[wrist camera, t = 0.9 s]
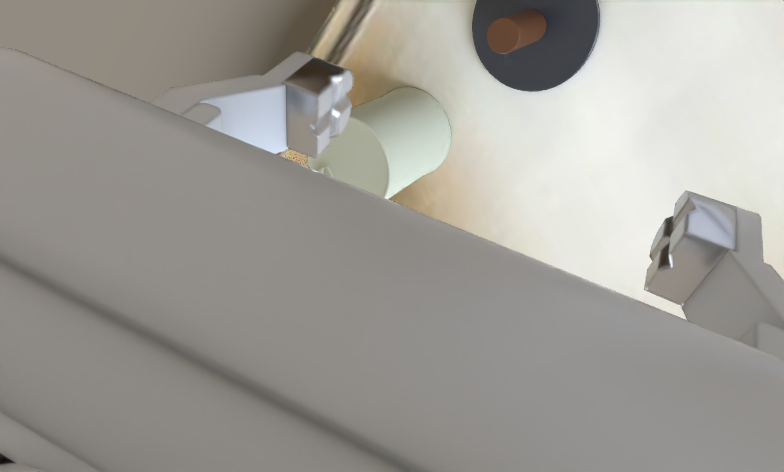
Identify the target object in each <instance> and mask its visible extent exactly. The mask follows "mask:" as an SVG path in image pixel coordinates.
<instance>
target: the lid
mask: <svg viewBox="0 0 784 472" xmlns="http://www.w3.org/2000/svg"><path fill="white" fill-rule="evenodd" d="M599 25H600V11H599V4H598V0H477V2H476V5H475V9H474V14H473V23H472V31H473V39H474V45H475V48H476V51H477V54H478V56H479V58H480V60H481V62H482V63H483V65H484V67H485V68H486V69H487V70H488V72H489V73H490V74H491V75H492V76H493V77H494V78H496V79H497V80H498V81H500V82H501V83H503V84H505V85H507V86H509V87H511V88H514V89H517V90H521V91H542V90H547V89H550V88H553V87H555V86H558V85H560V84H562V83H563V82H565V81H566V80H568V79H570V78H571V77H572V76H573V75H574V74H576V73H577V72H578V71H579V70H580V69H581V67H582V66H583V65H584V64H585V62H586V61H587V60H588V58H589V56H590V54H591V53H592V51H593V48H594V46H595V43H596V40H597V37H598V33H599Z"/></svg>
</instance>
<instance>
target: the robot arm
mask: <svg viewBox="0 0 784 472" xmlns="http://www.w3.org/2000/svg"><path fill="white" fill-rule="evenodd" d="M352 88H353V74H352V72H351V70H348V69H345V68H343V67H340V66H337V65H335V64H332V63H329V62H327V61H324V60H322V59H319V58H316V57H314V56H311V55H308V54H305V53H302V52H295V53H293V54H292V55H291V56H289V57H288V58H287V59H286V60H284V61H283V62H281V63H280V64H278V65H277V66H276V67H274V68H273V69H272V70H270V71H269V72H267V73H266V74H265V75H263V76H260V75H250V76H244V77H238V78H231V79H224V80H218V81H211V82H205V83H198V84H192V85H185V86H179V87H172V88H170V89H168V90H167V91H165V92H164V93H162V94H161V95H159V96H158V97H156V98H154V99H153V100H151V101H150V102H145V101H143V100H140V99H138V98H135V97H133V96H130V95H128V94H126V93H123V92H121V91H118V90H116V89H113V88H111V87H108V86H106V85H103V84H101V83H98V82H96V81H93V80H91V79H88V78H86V77H83V76H81V75H79V74H76V73H73V72H71V71H69V70H66V69H63V68H61V67H59V66H56V65H54V64H51V63H49V62H47V61H44V60H42V59H40V58H37V57H35V56H33V55H30V54H28V53H26V52H23V51H20V50H17V49H13V48H6V47H0V472H784V280H783V279H782V278H781V277H780V276H779V274H778V273H777V272H776V271H775V270H774V268H773V267H772V266H771V265H769V264H766V263H764V259H763V241H762V223H761V216H760V215H759V214H758V213H755V212H751V211H748V210H745V209H742V208H739V207H736V206H732V205H729V204H726V203H723V202H720V201H717V200H714V199H711V198H708V197H705V196H702V195H699V194H696V193H693V192H690V191H685V192H684V193H683V194H682V195H681V196H680V198H679V199H678V201H677V202H676V204H675V209H674V216H671V217H669V218H666V219H665V220H664V222H663V224H662V225H661V227H660V229H659V230H658V232H657V234H656V236H655V238H654V241H653V244H652V247H651V251H650V258H651V260H652V261H653V262H652V263H651V265H650V266H649V268H648V269H647V274H646V281H645V287H644V290H646V291H648V292H650V293H653V294H655V295H657V296H660V297H662V298H664V299H667V300H669V301H671V302H674V303H676V304H679V305H681V306H682V307H681V308H682V310H683V312H684V314H685V316H686V318H687V320H688V321H687V320H685V319H682V318H680V317H677V316H675V315H672V314H670V313H667V312H665V311H662V310H660V309H658V308H655V307H653V306H650V305H648V304H645V303H643V302H640V301H638V300H635V299H633V298H630V297H628V296H625V295H623V294H620V293H618V292H615V291H613V290H611V289H608V288H606V287H603V286H601V285H598V284H596V283H593V282H591V281H588V280H586V279H583V278H581V277H578V276H576V275H573V274H571V273H568V272H566V271H563V270H561V269H559V268H556V267H554V266H551V265H549V264H546V263H544V262H541V261H539V260H536V259H534V258H531V257H529V256H526V255H524V254H521V253H519V252H516V251H514V250H511V249H509V248H507V247H504V246H502V245H499V244H497V243H494V242H492V241H489V240H487V239H484V238H482V237H479V236H477V235H474V234H472V233H469V232H467V231H464V230H462V229H459V228H457V227H455V226H452V225H450V224H447V223H445V222H442V221H440V220H437V219H435V218H432V217H430V216H427V215H425V214H422V213H420V212H417V211H415V210H412V209H410V208H408V207H405V206H403V205H400V204H398V203H395V202H393V201H390V200H388V199H385V198H383V197H380V196H378V195H375V194H373V193H370V192H368V191H365V190H363V189H360V188H358V187H356V186H353V185H351V184H348V183H346V182H343V181H341V180H338V179H336V178H333V177H331V176H328V175H326V174H323V173H321V172H318V171H316V170H313V169H311V168H309V167H306V166H304V165H301V164H299V163H296V162H294V161H291V160H289V159H286V158H284V157H281V156H279V155H276V153H279V152H282V151H285V150H287V148H288V149H291V150H293V151H296V152H299V153H301V154H304V155H307V156H310V157H312V158H315V159H317V158H318V157H319V156H320V155H321V154H322V153H323V152H324V151H325V150H326V149H327V148H328V147H329V146H330V138H334V137H338V136H339V135H340V134H341V133H342V132H343V131H344V129H345V127H346V125H347V123H348V121H349V117H350V113H351V105H352V103H351V101H350V99H349V97H348V95H347V93H348V92H349V91H350V90H351V89H352Z"/></svg>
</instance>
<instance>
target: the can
mask: <svg viewBox="0 0 784 472" xmlns="http://www.w3.org/2000/svg"><path fill="white" fill-rule="evenodd" d="M450 144H451V129H450V125H449V121H448V118H447V116H446V114H445V112H444V110H443V109H442V107H441V106H440V104H439V103H438V102H437V101H436V100H435V99H434V98H433V97H432V96H430V95H429V94H428V93H426V92H424V91H422V90H419V89H417V88H412V87H402V88H397V89H395V90H392V91H390V92H389V93H387V94H386V95H384V96H382V97H379V98H377V99H374V100H372V101H369V102H367V103H364V104H361V105H359V106H356V107H354V108H351V113H350V117H349V121H348V123H347V125H346V127H345V129H344V131H343V132H342V133H341V134H340V135H339V136H338V137H334V138H330V146H329V147H328V148H327V149H326V150H325V151H324V152H323V153H322V154H321V155H320V156H319V157H318V158H317V159H315V158H312V157H310V156H307V162H308V167H309V168H311V169H313V170H316V171H318V172H321V173H323V174H326V175H328V176H331V177H333V178H336V179H338V180H341V181H343V182H346V183H348V184H351V185H353V186H356V187H358V188H360V189H363V190H365V191H368V192H370V193H373V194H375V195H378V196H380V197H383V198H385V199H389V198H390V197H392V196H393V195H395V194H396V193H398V192H399V191H400V190H402V189H403V188H405V187H406V186H408V185H409V184H411V183H413V182H414V181H416V180H417V179H419V178H420V177H422V176H423V175H425V174H428V173H430V172H432V171H434V170H436V169H437V168H438V167H439V166H440V165H441V164H442V163H443V162H444V160H445V159H446V157H447V155H448V152H449V149H450Z"/></svg>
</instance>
